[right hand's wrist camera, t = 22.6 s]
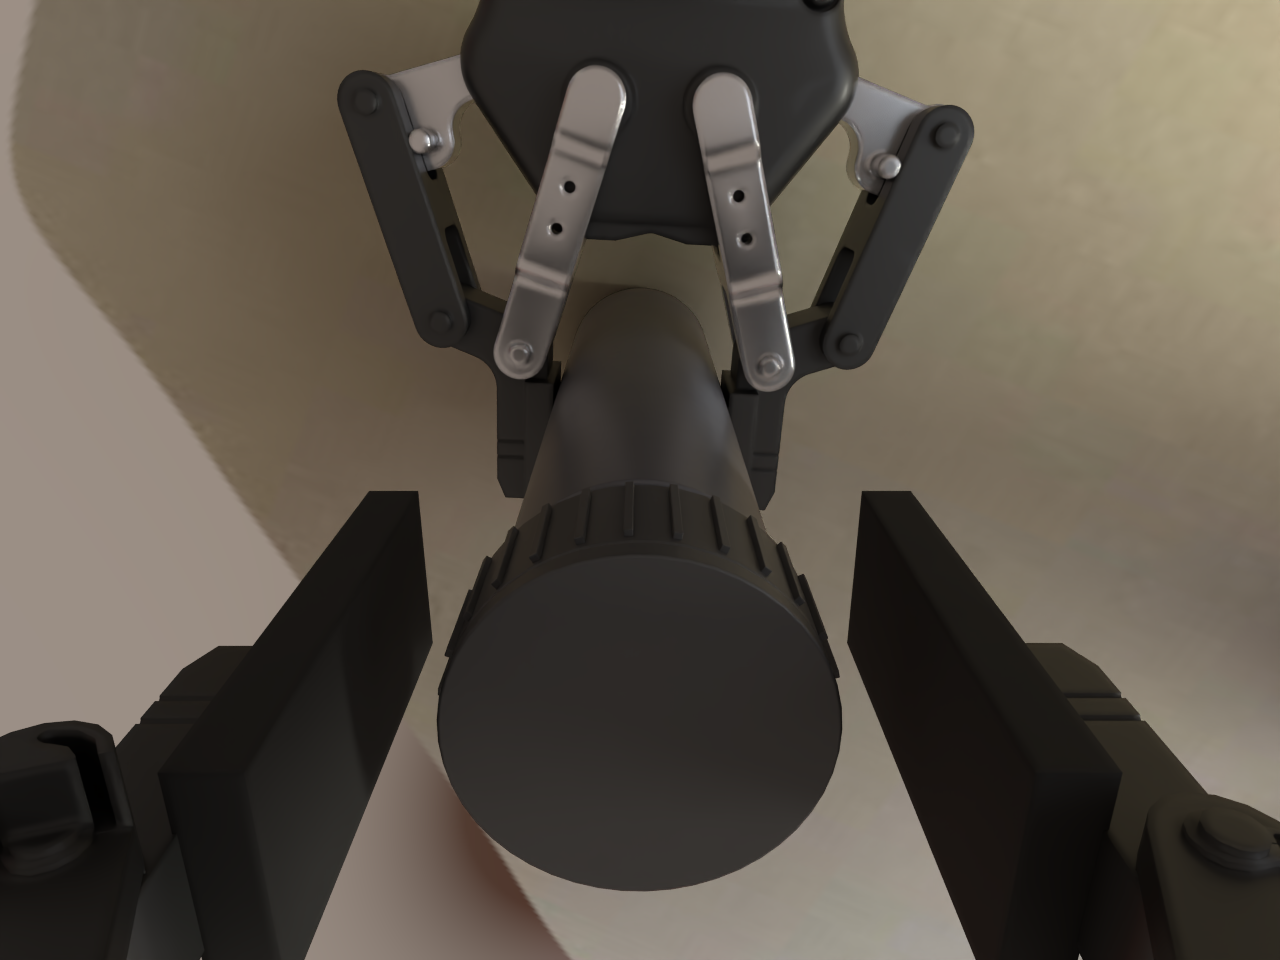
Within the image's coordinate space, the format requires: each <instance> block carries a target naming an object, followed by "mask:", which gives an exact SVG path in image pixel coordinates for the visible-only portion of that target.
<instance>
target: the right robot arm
mask: <svg viewBox="0 0 1280 960" xmlns="http://www.w3.org/2000/svg"><path fill="white" fill-rule="evenodd" d="M432 643H433V641H432V630H431V620H430V610H429V599H428V589H427V579H426V568H425V558H424V548H423V537H422V527H421V517H420V506H419V496H418V491H369V492H368V493H367V495H366V496H365V497H364V499H363V500H362V501H361V503H360V504H359V505H358V507H357V508H356V509H355V511H354V512H353V513H352V515H351V516H350V517H349V519H348V520H347V521H346V523H345V524H344V525H343V527H342V528H341V529H340V531H339V532H338V533H337V535H336V536H335V537H334V539H333V540H332V541H331V543H330V544H329V545H328V547H327V548H326V549H325V551H324V552H323V553H322V555H321V556H320V557H319V559H318V560H317V561H316V563H315V564H314V565H313V567H312V568H311V569H310V571H309V572H308V573H307V575H306V576H305V577H304V578H303V580H302V581H301V582H300V584H299V585H298V586H297V588H296V589H295V590H294V592H293V593H292V594H291V596H290V597H289V598H288V600H287V601H286V602H285V604H284V605H283V606H282V608H281V609H280V610H279V612H278V613H277V614H276V616H275V617H274V618H273V620H272V621H271V622H270V624H269V625H268V626H267V628H266V629H265V630H264V632H263V633H262V634H261V636H260V637H259V638H258V640H257V641H256V642H255V644H254V645H253V646H218V647H216V648H215V649H213V650H211V651H210V652H208V653H207V654H205V655H204V656H202V657H201V658H199V659H197V660H196V661H194V662H193V663H191V664H190V665H188V666H186V667H185V668H183V669H182V670H181V671H180V672H179V674H178V675H177V676H176V677H175V678H174V680H173V681H172V682H171V683H170V684H169V685H168V687H167V688H166V689H165V690H164V691H163V692H162V694H161V695H160V699H159V701H155V702H154V703H153V704H152V705H151V707H150V708H149V709H148V710H147V711H146V712H145V714H144V715H143V716H142V717H141V722H140V724H135V725H134V727H133V728H132V729H131V730H130V731H129V732H128V734H127V735H126V736H125V737H124V738H123V739H122V741H121V742H120V743H119V744H118V745H117V746H116V748H115V745H114V740H113V737H112V735H111V734H110V733H109V732H107V731H106V730H105V729H104V728H102V727H101V726H99V725H98V724H92V723H86V722H81V721H63V722H52V723H43V724H40V725H36V726H32V727H29V728H25V729H21V730H17V731H14V732H10V733H8V734H6V735H4V736H2V737H0V960H200V958H201V957H202V960H304V959H305V957H306V954H307V952H308V949H309V947H310V944H311V942H312V939H313V937H314V934H315V932H316V930H317V927H318V925H319V922H320V920H321V917H322V915H323V912H324V910H325V907H326V905H327V902H328V900H329V898H330V895H331V893H332V890H333V888H334V885H335V883H336V880H337V878H338V875H339V873H340V870H341V868H342V865H343V863H344V861H345V858H346V856H347V853H348V851H349V848H350V846H351V843H352V841H353V838H354V836H355V833H356V831H357V828H358V826H359V823H360V821H361V819H362V816H363V814H364V811H365V809H366V806H367V804H368V801H369V799H370V796H371V794H372V791H373V789H374V787H375V784H376V782H377V779H378V777H379V774H380V772H381V769H382V767H383V764H384V762H385V759H386V757H387V754H388V752H389V750H390V747H391V745H392V742H393V740H394V737H395V735H396V732H397V730H398V727H399V725H400V722H401V720H402V717H403V715H404V713H405V710H406V708H407V705H408V703H409V700H410V698H411V695H412V693H413V690H414V688H415V685H416V683H417V680H418V678H419V676H420V673H421V671H422V668H423V666H424V663H425V661H426V658H427V656H428V653H429V651H430V648H431V646H432ZM847 643H848V646H849V648H850V651H851V653H852V656H853V658H854V661H855V663H856V666H857V668H858V671H859V673H860V676H861V678H862V680H863V683H864V685H865V688H866V690H867V693H868V695H869V698H870V700H871V703H872V705H873V708H874V710H875V713H876V715H877V717H878V720H879V722H880V725H881V727H882V730H883V732H884V735H885V737H886V740H887V742H888V745H889V747H890V750H891V752H892V754H893V757H894V759H895V762H896V764H897V767H898V769H899V772H900V774H901V777H902V779H903V782H904V784H905V787H906V789H907V791H908V794H909V796H910V799H911V801H912V804H913V806H914V809H915V811H916V814H917V816H918V819H919V821H920V824H921V826H922V828H923V831H924V833H925V836H926V838H927V841H928V843H929V846H930V848H931V851H932V853H933V856H934V858H935V861H936V863H937V865H938V868H939V870H940V873H941V875H942V878H943V880H944V883H945V885H946V888H947V890H948V893H949V895H950V898H951V900H952V902H953V905H954V907H955V910H956V912H957V915H958V917H959V920H960V922H961V925H962V927H963V930H964V932H965V935H966V937H967V939H968V942H969V944H970V947H971V949H972V952H973V954H974V957H975V959H976V960H1078V957H1079V953H1080V955H1081V957H1082V959H1083V960H1280V822H1279V821H1277V820H1275V819H1273V818H1271V817H1269V816H1268V815H1266V814H1264V813H1262V812H1260V811H1258V810H1256V809H1254V808H1252V807H1250V806H1248V805H1245V804H1242V803H1239V802H1236V801H1233V800H1229V799H1226V798H1223V797H1220V796H1216V795H1209V794H1207V792H1206V791H1205V790H1204V789H1203V788H1202V787H1201V785H1200V784H1199V783H1198V782H1197V781H1196V780H1195V778H1194V777H1193V776H1192V775H1191V774H1190V773H1189V771H1188V770H1187V769H1186V768H1185V767H1184V766H1183V764H1182V763H1181V762H1180V761H1179V760H1178V759H1177V757H1176V756H1175V755H1174V754H1173V753H1172V752H1171V750H1170V749H1169V748H1168V747H1167V746H1166V745H1165V743H1164V742H1163V741H1162V740H1161V739H1160V738H1159V736H1158V735H1157V734H1156V733H1155V732H1154V731H1153V729H1152V728H1151V727H1150V726H1149V725H1148V724H1147V722H1146V721H1141V719H1140V714H1139V713H1138V712H1137V711H1136V710H1135V708H1134V707H1133V706H1132V705H1131V704H1130V703H1129V701H1128V700H1127V699H1126V698H1122V697H1121V692H1120V691H1119V690H1118V689H1117V687H1116V686H1115V685H1114V684H1113V683H1112V682H1111V680H1110V679H1109V678H1108V677H1107V676H1106V675H1105V673H1104V672H1103V671H1102V670H1101V669H1100V668H1099V666H1097V665H1096V664H1094V663H1093V662H1091V661H1089V660H1088V659H1086V658H1085V657H1083V656H1082V655H1080V654H1078V653H1077V652H1075V651H1074V650H1072V649H1071V648H1069V647H1067V646H1066V645H1064V644H1063V643H1025V642H1024V641H1023V640H1022V638H1021V637H1020V636H1019V634H1018V633H1017V632H1016V630H1015V629H1014V628H1013V626H1012V625H1011V624H1010V622H1009V621H1008V620H1007V618H1006V617H1005V616H1004V614H1003V613H1002V612H1001V610H1000V609H999V608H998V606H997V605H996V604H995V602H994V601H993V600H992V598H991V597H990V596H989V594H988V593H987V592H986V590H985V589H984V588H983V586H982V585H981V584H980V582H979V581H978V580H977V578H976V577H975V576H974V575H973V573H972V572H971V571H970V569H969V568H968V567H967V565H966V564H965V563H964V561H963V560H962V559H961V557H960V556H959V555H958V553H957V552H956V551H955V549H954V548H953V547H952V545H951V544H950V543H949V541H948V540H947V539H946V537H945V536H944V535H943V533H942V532H941V531H940V529H939V528H938V527H937V525H936V524H935V523H934V521H933V520H932V519H931V517H930V516H929V515H928V513H927V512H926V511H925V509H924V508H923V507H922V505H921V504H920V503H919V501H918V500H917V499H916V497H915V496H914V495H913V493H912V492H911V491H862V496H861V506H860V517H859V527H858V537H857V548H856V558H855V568H854V579H853V589H852V599H851V610H850V620H849V630H848V641H847Z"/></svg>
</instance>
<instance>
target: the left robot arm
mask: <svg viewBox="0 0 1280 960" xmlns="http://www.w3.org/2000/svg"><path fill="white" fill-rule="evenodd" d="M337 101H338V107H339V110H340V113H341V116H342V119H343V122H344V125H345V127H346V130H347V133H348V136H349V139H350V142H351V144H352V147H353V150H354V153H355V156H356V159H357V162H358V164H359V167H360V170H361V173H362V176H363V179H364V182H365V184H366V187H367V190H368V193H369V196H370V199H371V202H372V204H373V207H374V210H375V213H376V216H377V219H378V222H379V224H380V227H381V230H382V233H383V236H384V239H385V241H386V244H387V247H388V250H389V253H390V256H391V259H392V261H393V264H394V267H395V270H396V273H397V276H398V279H399V281H400V284H401V287H402V290H403V293H404V296H405V299H406V301H407V304H408V307H409V310H410V313H411V316H412V318H413V321H414V324H415V327H416V330H417V332H418V334H419V335H420V337H421V338H422V339H423V340H424V341H426V342H427V343H428V344H430V345H432V346H435V347H440V348H446V347H453V348H456V349H458V350H461V351H463V352H466V353H468V354H471V355H473V356H475V357H477V358H479V359H481V360H482V361H484V362H485V363H486V364H487V365H488V366H489V367H490V369H491V370H492V372H493V374H494V376H495V379H496V383H497V439H498V441H497V454H498V457H497V478H498V481H499V483H500V486H501V488H502V490H503V493H504V495H505V497H510V498H524V497H525V494H526V491H527V487H528V484H529V481H530V478H531V475H532V472H533V468H534V465H535V462H536V459H537V456H538V453H539V449H540V446H541V443H542V440H543V437H544V434H545V430H546V427H547V424H548V421H549V418H550V415H551V412H552V408H553V405H554V402H555V399H556V396H557V393H558V389H559V386H560V383H561V361H553V341H554V338H555V335H556V332H557V328H558V325H559V322H560V319H561V316H562V313H563V310H564V307H565V303H566V300H567V297H568V294H569V291H570V288H571V285H572V282H573V279H574V276H575V273H576V270H577V267H578V264H579V261H580V258H581V255H582V252H583V248H584V245H585V242H586V239H597V240H620V239H625V238H629V237H634V236H638V235H643V234H647V233H654V234H657V235H660V236H663V237H666V238H669V239H672V240H675V241H678V242H681V243H684V244H691V245H710V246H712V250H713V255H714V260H715V265H716V269H717V273H718V277H719V281H720V285H721V289H722V294H723V299H724V304H725V309H726V314H727V319H728V323H729V328H730V333H731V338H732V343H733V352H732V363H731V371H728V370H722V377H721V390H722V393H723V396H724V399H725V402H726V406H727V409H728V412H729V415H730V418H731V422H732V425H733V428H734V431H735V434H736V437H737V441H738V444H739V447H740V450H741V453H742V457H743V460H744V463H745V466H746V469H747V473H748V476H749V479H750V482H751V485H752V488H753V492H754V495H755V498H756V501H757V504H758V508H759V510H765V509H766V507H767V505H768V503H769V501H770V500H771V498H772V496H773V494H774V492H775V484H776V475H777V466H778V454H779V449H780V440H781V431H782V422H783V413H784V404H785V399H786V396H787V393H788V391H789V389H790V388H791V387H792V385H793V384H794V383H795V382H796V381H797V380H799V379H800V378H802V377H803V376H805V375H808V374H811V373H814V372H817V371H821V370H824V369H828V368H831V367H837V368H840V369H846V370H849V369H855V368H857V367H860V366H861V365H863V364H864V363H866V362H867V361H868V360H869V358H870V357H871V356H872V354H873V352H874V350H875V348H876V346H877V343H878V341H879V339H880V337H881V335H882V333H883V331H884V329H885V326H886V324H887V322H888V320H889V318H890V316H891V314H892V312H893V310H894V307H895V305H896V303H897V301H898V299H899V297H900V295H901V293H902V291H903V288H904V286H905V284H906V282H907V280H908V278H909V276H910V274H911V272H912V269H913V267H914V265H915V263H916V261H917V259H918V257H919V255H920V253H921V250H922V248H923V246H924V244H925V242H926V240H927V238H928V236H929V234H930V231H931V229H932V227H933V225H934V223H935V221H936V219H937V217H938V214H939V212H940V210H941V208H942V206H943V204H944V202H945V200H946V198H947V195H948V193H949V191H950V189H951V187H952V185H953V183H954V181H955V179H956V176H957V174H958V172H959V170H960V168H961V166H962V164H963V162H964V160H965V157H966V155H967V153H968V151H969V149H970V147H971V144H972V142H973V138H974V126H973V122H972V120H971V117H970V116H969V114H968V113H967V112H966V111H965V110H963V109H962V108H960V107H958V106H954V105H942V104H935V105H924V104H922V103H919V102H917V101H915V100H912V99H910V98H907V97H905V96H903V95H900V94H898V93H896V92H893V91H891V90H888V89H886V88H884V87H881V86H879V85H877V84H874V83H872V82H869V81H867V80H865V79H862V78H860V77H859V69H858V62H857V57H856V54H855V51H854V49H853V46H852V44H851V41H850V39H849V35H848V32H847V28H846V23H845V16H844V0H480V2H479V5H478V8H477V10H476V13H475V15H474V18H473V20H472V22H471V23H470V25H469V27H468V29H467V31H466V33H465V35H464V38H463V42H462V46H461V53H460V55H456V56H453V57H449V58H446V59H442V60H439V61H436V62H432V63H429V64H425V65H422V66H418V67H415V68H411V69H408V70H405V71H401V72H398V73H394V74H391V75H385V74H381V73H376V72H372V71H366V70H360V71H355V72H353V73H351V74H349V75H348V76H346V77H345V79H344V80H343V81H342V83H341V84H340V87H339V89H338V94H337ZM473 103H476V104H477V106H478V107H479V109H480V110H481V112H482V113H483V115H484V116H485V118H486V119H487V121H488V122H489V124H490V125H491V127H492V128H493V130H494V132H495V133H496V135H497V136H498V138H499V139H500V141H501V142H502V144H503V145H504V147H505V148H506V150H507V151H508V153H509V154H510V156H511V157H512V159H513V160H514V162H515V163H516V165H517V166H518V168H519V169H520V171H521V172H522V174H523V175H524V177H525V178H526V180H527V181H528V183H529V185H530V186H531V188H532V189H533V191H534V192H535V194H536V195H537V197H536V200H535V203H534V207H533V210H532V214H531V217H530V220H529V224H528V227H527V230H526V234H525V237H524V241H523V244H522V247H521V251H520V254H519V258H518V261H517V265H516V270H515V277H514V281H513V285H512V288H511V291H510V295H509V298H508V301H505V300H502V299H500V298H498V297H495V296H493V295H490V294H488V293H486V292H483V291H481V288H480V285H479V282H478V279H477V275H476V272H475V269H474V266H473V263H472V260H471V257H470V253H469V250H468V247H467V244H466V241H465V238H464V235H463V232H462V228H461V225H460V222H459V219H458V216H457V213H456V210H455V206H454V203H453V200H452V197H451V194H450V191H449V188H448V185H447V181H446V178H445V175H444V172H443V169H442V168H444V167H446V166H449V165H450V164H452V163H453V162H454V161H455V160H456V159H457V157H458V155H459V153H460V150H461V145H462V140H461V134H460V122H461V118H462V115H463V114H464V112H465V110H466V109H467V108H468V107H469V106H470V105H471V104H473ZM838 123H839V124H840V125H841V126H842V127H843V128H844V129H845V131H846V132H847V134H848V137H849V141H850V150H849V155H848V159H847V164H846V171H847V175H848V178H849V180H850V181H851V183H852V184H853V185H854V186H855V187H856V188H858V189H860V190H862V191H861V193H860V196H859V198H858V200H857V203H856V205H855V207H854V209H853V212H852V214H851V216H850V218H849V221H848V223H847V225H846V228H845V230H844V232H843V234H842V237H841V239H840V241H839V244H838V246H837V248H836V250H835V253H834V255H833V257H832V259H831V262H830V264H829V266H828V269H827V271H826V273H825V275H824V278H823V280H822V282H821V284H820V287H819V289H818V291H817V294H816V296H815V298H814V300H813V303H812V305H811V307H810V308H808V309H805V310H801V311H798V312H795V313H792V314H788V315H787V314H786V308H785V303H784V297H783V290H782V287H783V279H782V271H781V266H780V260H779V254H778V249H777V243H776V238H775V232H774V226H773V221H772V215H771V210H770V206H771V204H772V203H773V202H774V201H775V200H776V198H777V197H778V196H779V195H780V193H781V192H782V191H783V190H784V189H785V187H786V186H787V185H788V184H789V183H790V181H791V180H792V179H793V178H794V176H795V175H796V174H797V173H798V172H799V170H800V169H801V168H802V167H803V166H804V164H805V163H806V162H807V161H808V159H809V158H810V157H811V156H812V155H813V153H814V152H815V151H816V150H817V149H818V147H819V146H820V145H821V144H822V143H823V141H824V140H825V139H826V138H827V136H828V135H829V134H830V133H831V132H832V130H833V129H834V128H835V127H836V126H837V124H838Z"/></svg>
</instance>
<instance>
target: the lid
mask: <svg viewBox="0 0 1280 960" xmlns="http://www.w3.org/2000/svg"><path fill="white" fill-rule="evenodd" d="M827 639H828V636H827V634H826V631H825V628H824V626H823V623H822V620H821V617H820V615H819V612H818V609H817V607H816V604H815V601H814V599H813V596H812V593H811V590H810V588H809V585H808V582H807V580H806V578H805V575H804V574H802V575H799V576H798V575H797V573H796V571H795V570H794V568H793V566H792V563H791V560H790V557H789V554H788V551H787V549H786V546H785V545H784V544H783V543H782V542H780V543H779V544H776V543H775V542H774V541H773V540H772V539H771V538H770V537H769V536H768V535H767V534H766V533H765V532H764V530H762V529H761V528H760V527H759V525H758V522H757V519H756V518H755V517H753V516H752V515H750V516H749V517H748V518H747V517H746V516H744V515H742V514H741V513H739V512H737V511H735V510H734V509H732V508H730V507H729V506H727V505H725V504H723V503H721V500H720V498H719V497H717V496H715V495H712V497H711V498H708V497H706V496H704V495H700V494H697V493H693V492H689V491H686V490H682V489H678V485H675V484H670V486H669V487H663V486H656V485H634V482H633V481H632V482H625V486H616V487H607V488H603V489H598V490H594V491H591V490H590V488H586V489H582V492H581V494H579V495H577V496H574V497H571V498H568V499H565V500H563V501H561V502H559V503H557V504H555V505H553V506H551V505H550V504H549V503H547V504H545V505H544V506H542V508H541V512H540V513H539V514H537V515H536V516H534V517H533V518H531V519H530V520H528V521H527V522H525V523H524V524H523V525H522V526H521V527H520V528H518V529H517V528H515V527H514V526H513V527H512V528H511V529H510V530H509V531H508V534H507V537H506V540H505V542H504V543H503V544H502V546H501V547H500V548H499V549H498V550H497V552H496V553H495V554H494V555H493V557H492V558H490V557H488V556H486V557H485V559H484V560H483V562H482V565H481V568H480V571H479V573H478V576H477V579H476V582H475V584H474V587H473V590H468V593H467V596H466V598H465V601H464V604H463V606H462V609H461V612H460V615H459V617H458V620H457V623H456V625H455V628H454V631H453V633H452V636H451V639H450V641H449V644H448V647H447V649H446V652H445V656H446V657H449V660H448V663H447V665H446V668H445V671H444V674H443V676H442V679H441V682H440V685H439V688H438V695H439V701H438V712H437V731H438V743H439V748H440V752H441V757H442V761H443V765H444V767H445V770H446V772H447V775H448V778H449V780H450V783H451V785H452V787H453V789H454V791H455V792H456V794H457V796H458V798H459V799H460V801H461V803H462V805H463V806H464V807H465V809H466V810H467V811H468V812H469V814H470V815H471V816H472V818H473V819H474V820H475V822H476V823H477V824H478V825H479V826H480V827H481V828H482V829H483V830H484V831H485V832H486V833H487V834H488V835H489V836H490V837H491V838H492V839H494V840H495V841H496V842H497V843H499V844H500V845H501V846H503V847H504V848H505V849H506V850H508V851H509V852H510V853H512V854H513V855H515V856H517V857H518V858H520V859H522V860H523V861H525V862H527V863H528V864H530V865H532V866H534V867H536V868H538V869H541V870H543V871H545V872H547V873H549V874H551V875H554V876H557V877H560V878H563V879H566V880H569V881H572V882H575V883H579V884H583V885H588V886H592V887H597V888H604V889H612V890H620V891H657V890H670V889H676V888H681V887H687V886H692V885H697V884H700V883H704V882H707V881H710V880H714V879H717V878H720V877H722V876H725V875H727V874H730V873H732V872H735V871H737V870H739V869H741V868H743V867H745V866H747V865H749V864H751V863H752V862H754V861H756V860H758V859H760V858H761V857H763V856H764V855H766V854H767V853H769V852H770V851H771V850H773V849H774V848H776V847H777V846H778V845H780V844H781V843H782V842H783V841H784V840H785V839H787V838H788V837H789V836H790V835H791V834H792V833H793V832H794V831H795V830H796V829H797V828H798V827H799V826H800V825H801V824H802V823H803V821H804V820H805V819H806V818H807V817H808V816H809V814H810V813H811V812H812V810H813V809H814V807H815V806H816V804H817V803H818V801H819V800H820V798H821V797H822V795H823V793H824V791H825V789H826V787H827V785H828V783H829V780H830V778H831V776H832V774H833V771H834V768H835V764H836V761H837V757H838V754H839V750H840V742H841V735H842V706H841V701H840V695H839V690H838V685H837V682H836V679H835V678H839V677H840V676H839V670H838V668H837V665H836V662H835V659H834V657H833V654H832V651H831V649H830V646H829V643H828V640H827Z"/></svg>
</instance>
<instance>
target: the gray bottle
mask: <svg viewBox="0 0 1280 960" xmlns="http://www.w3.org/2000/svg"><path fill="white" fill-rule="evenodd" d="M632 481H633V482H634V485H656V486H663V487H669V486H670V484H675V485H678V489H682V490H686V491H689V492H693V493H697V494H700V495H704V496H706V497H708V498H711V497H712V495H715V496H717V497H719V498H720V500H721V503H723V504H725V505H727V506H729V507H730V508H732V509H734V510H735V511H737V512H739V513H741V514H742V515H744V516H746V517H747V518H748V517H749V516H750V515H752V516H753V517H755V518H756V519H757V522H758V525H759V527H760V528H761V529H762V530H764V532H765V533H766V530H765V527H764V523H763V520H762V517H761V514H760V511H759V508H758V504H757V501H756V498H755V495H754V492H753V488H752V485H751V482H750V479H749V476H748V473H747V469H746V466H745V463H744V460H743V457H742V453H741V450H740V447H739V444H738V441H737V437H736V434H735V431H734V428H733V425H732V422H731V418H730V415H729V412H728V409H727V406H726V402H725V399H724V396H723V393H722V390H721V386H720V383H719V380H718V377H717V374H716V371H715V367H714V364H713V361H712V358H711V355H710V351H709V348H708V345H707V342H706V339H705V336H704V333H703V330H702V327H701V326H700V324H699V322H698V320H697V318H696V317H695V315H694V314H693V313H692V312H691V311H690V309H689V308H688V307H687V306H686V305H684V304H683V303H682V302H681V301H679V300H678V299H676V298H675V297H673V296H671V295H669V294H667V293H665V292H661V291H658V290H654V289H648V288H632V289H626V290H622V291H619V292H616V293H613V294H611V295H609V296H607V297H605V298H604V299H602V300H601V301H599V302H598V303H597V304H596V305H595V306H594V307H592V308H591V309H590V311H589V312H588V313H587V314H586V315H585V317H584V318H583V320H582V322H581V323H580V326H579V328H578V330H577V333H576V336H575V339H574V342H573V345H572V348H571V352H570V355H569V358H568V361H567V364H566V367H565V370H564V374H563V377H562V380H561V383H560V386H559V389H558V393H557V396H556V399H555V402H554V405H553V408H552V412H551V415H550V418H549V421H548V424H547V427H546V430H545V434H544V437H543V440H542V443H541V446H540V449H539V453H538V456H537V459H536V462H535V465H534V468H533V472H532V475H531V478H530V481H529V484H528V487H527V491H526V494H525V497H524V500H523V503H522V506H521V509H520V513H519V516H518V519H517V522H516V525H515V528H517V529H518V528H520V527H521V526H522V525H523V524H524V523H525V522H527V521H528V520H530V519H531V518H533V517H534V516H536V515H537V514H539V513H540V512H541V508H542V506H544V505H545V504H547V503H549V504H550V505H551V506H553V505H555V504H557V503H559V502H561V501H563V500H565V499H568V498H571V497H574V496H577V495H579V494H581V492H582V489H586V488H590V490H591V491H594V490H598V489H603V488H607V487H616V486H625V482H632ZM766 534H767V533H766Z"/></svg>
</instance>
